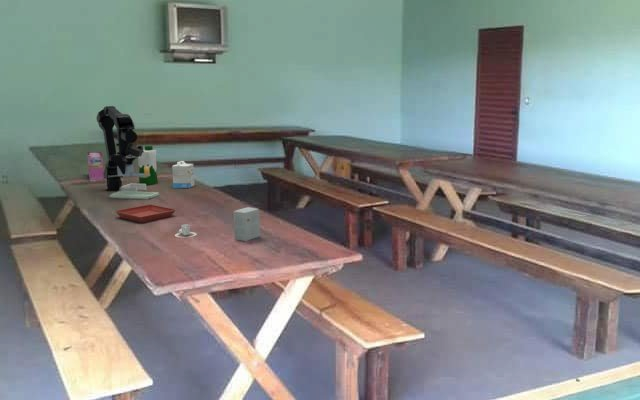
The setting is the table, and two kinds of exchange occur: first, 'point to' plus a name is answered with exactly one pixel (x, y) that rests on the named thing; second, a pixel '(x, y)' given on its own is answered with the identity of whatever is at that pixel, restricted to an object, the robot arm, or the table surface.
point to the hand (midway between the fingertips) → (126, 173)
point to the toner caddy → (130, 171)
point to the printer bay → (133, 187)
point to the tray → (134, 195)
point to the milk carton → (150, 161)
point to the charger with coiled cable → (185, 231)
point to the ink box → (183, 175)
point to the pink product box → (95, 166)
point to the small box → (246, 224)
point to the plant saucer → (145, 213)
